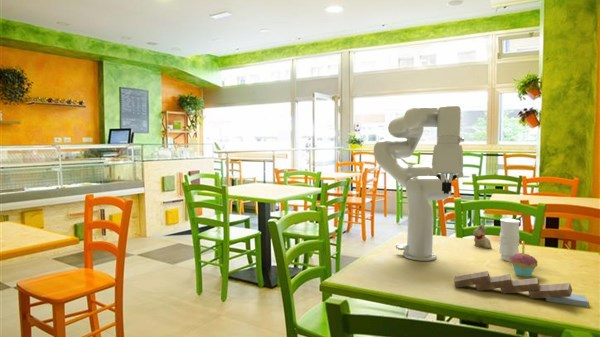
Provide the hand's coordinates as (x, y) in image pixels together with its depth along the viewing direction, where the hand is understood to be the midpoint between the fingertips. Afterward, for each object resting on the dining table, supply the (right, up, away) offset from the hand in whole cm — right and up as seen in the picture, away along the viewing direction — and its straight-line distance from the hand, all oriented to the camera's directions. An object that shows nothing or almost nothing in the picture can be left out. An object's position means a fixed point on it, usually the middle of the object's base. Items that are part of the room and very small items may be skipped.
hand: (446, 193), depth 144 cm
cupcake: (+25, -28, -4) cm, 37 cm away
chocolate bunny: (+27, -25, +33) cm, 49 cm away
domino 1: (-2, -27, -15) cm, 31 cm away
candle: (+29, -26, +14) cm, 42 cm away
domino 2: (+3, -27, -17) cm, 32 cm away
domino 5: (+20, -29, -25) cm, 43 cm away
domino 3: (+10, -28, -20) cm, 35 cm away
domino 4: (+16, -28, -24) cm, 40 cm away
